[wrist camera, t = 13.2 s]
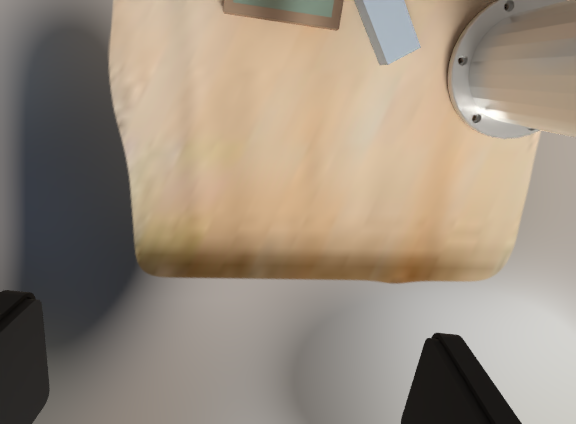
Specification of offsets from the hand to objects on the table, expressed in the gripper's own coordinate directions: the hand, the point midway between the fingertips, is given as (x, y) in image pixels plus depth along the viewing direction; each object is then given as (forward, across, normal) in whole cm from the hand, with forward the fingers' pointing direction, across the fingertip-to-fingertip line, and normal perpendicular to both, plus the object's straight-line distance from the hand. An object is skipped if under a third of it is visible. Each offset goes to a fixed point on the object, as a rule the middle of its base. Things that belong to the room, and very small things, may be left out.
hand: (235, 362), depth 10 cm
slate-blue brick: (+31, -9, -12) cm, 34 cm away
